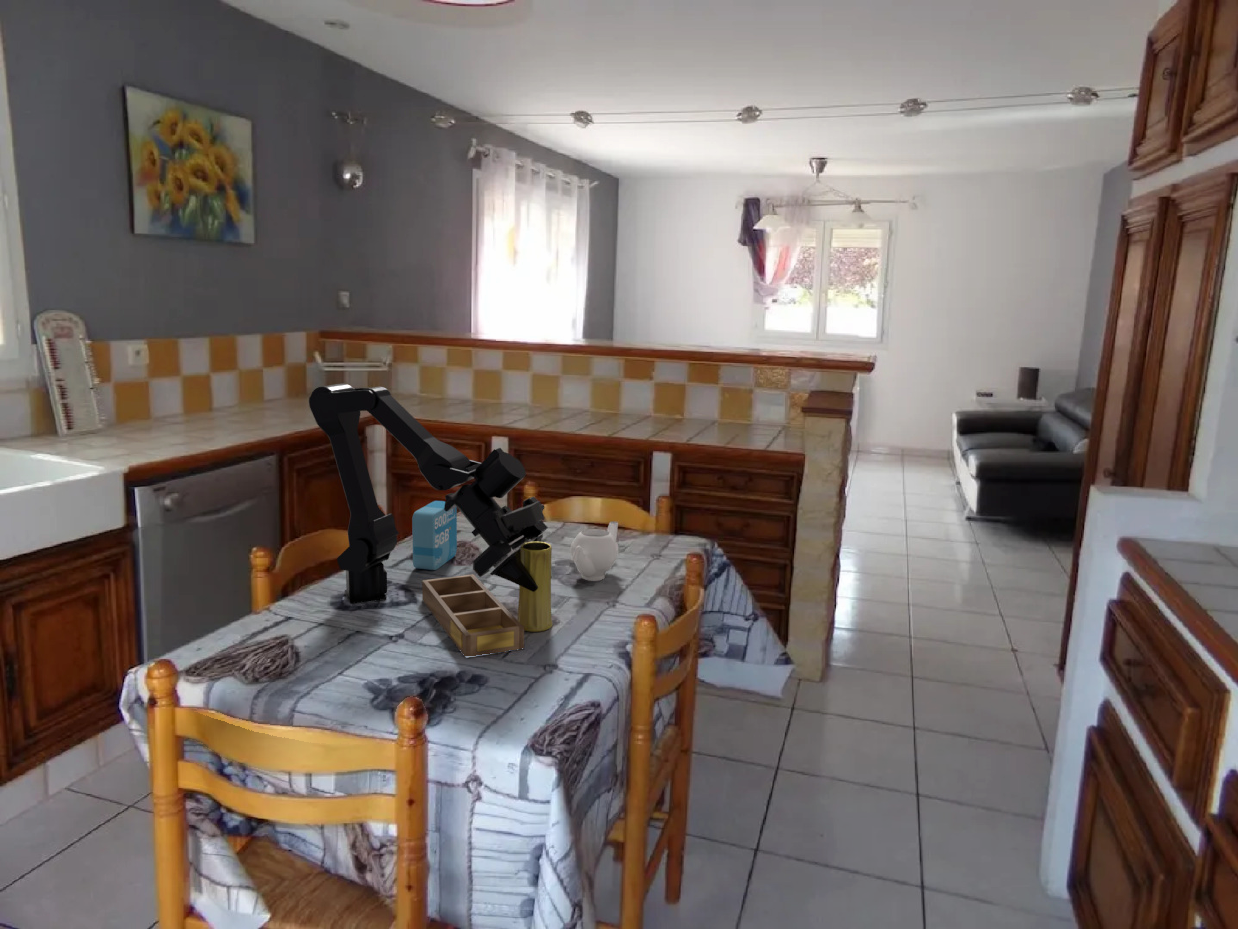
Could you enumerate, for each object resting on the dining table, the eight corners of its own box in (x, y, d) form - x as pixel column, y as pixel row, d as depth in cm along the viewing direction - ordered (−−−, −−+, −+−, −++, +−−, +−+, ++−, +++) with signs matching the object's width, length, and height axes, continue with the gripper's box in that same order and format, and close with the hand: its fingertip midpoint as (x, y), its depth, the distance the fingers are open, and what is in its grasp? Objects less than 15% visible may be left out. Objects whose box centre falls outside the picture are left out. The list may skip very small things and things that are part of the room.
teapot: (549, 588, 167) (550, 541, 165) (593, 559, 185) (595, 518, 183) (593, 596, 163) (595, 549, 161) (634, 567, 181) (636, 524, 179)
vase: (534, 615, 153) (536, 538, 150) (559, 625, 149) (561, 546, 146) (509, 625, 148) (510, 545, 145) (534, 635, 145) (536, 553, 142)
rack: (464, 659, 134) (464, 636, 134) (421, 600, 158) (421, 580, 158) (524, 649, 139) (524, 627, 138) (473, 593, 163) (473, 574, 162)
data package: (433, 572, 173) (432, 514, 171) (412, 570, 174) (411, 512, 172) (457, 555, 185) (457, 500, 182) (437, 553, 186) (437, 498, 183)
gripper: (490, 497, 136) (553, 574, 135) (538, 474, 154) (594, 542, 153) (446, 539, 140) (507, 613, 139) (497, 512, 158) (552, 578, 157)
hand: (543, 584), depth 147 cm, fingers closed on vase, 5 cm apart
